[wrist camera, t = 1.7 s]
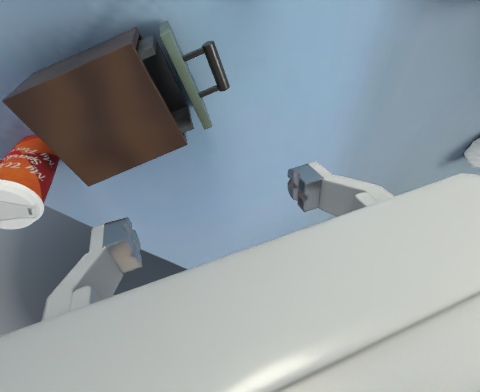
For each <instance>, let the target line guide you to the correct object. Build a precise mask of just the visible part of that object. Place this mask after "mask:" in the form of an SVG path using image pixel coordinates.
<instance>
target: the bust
mask: <svg viewBox="0 0 480 392" xmlns="http://www.w3.org/2000/svg"><path fill="white" fill-rule="evenodd" d="M464 156H465V158H466V159H467V161H468V163H470V165H471V166H472V167H474V168H480V138H478V139H477V140H475V141H473V142H472V144H471V146H470V147H469V148H468V149H467V150H466V151H465V152H464Z"/></svg>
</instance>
